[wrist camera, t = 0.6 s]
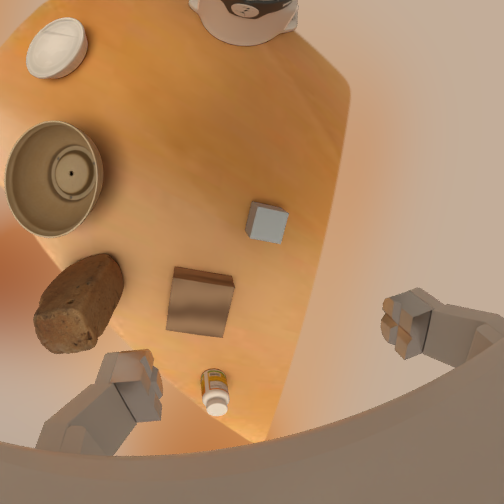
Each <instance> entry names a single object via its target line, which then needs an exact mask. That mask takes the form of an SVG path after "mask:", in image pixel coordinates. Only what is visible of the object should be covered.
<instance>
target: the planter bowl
mask: <svg viewBox="0 0 504 504" xmlns="http://www.w3.org/2000/svg"><path fill="white" fill-rule="evenodd" d="M71 171H73V175H72V176H70V172H71ZM102 184H103V163H102V159H101V155H100V153H99V151H98V148H97V147H96V145H95V144H94V142H93V141H92V140H91V138H90V137H89V136H88V135H86V134H85V133H84V132H83V131H81V130H79V129H78V128H76V127H74V126H73V125H71V124H68V123H65V122H61V121H46V122H42V123H39V124H37V125H35V126H33V127H32V128H30V129H29V130H27V131H26V132H25V133H24V134H23V135H22V136H21V137H20V138H19V139H18V141H17V142H16V144H15V145H14V147H13V149H12V151H11V153H10V155H9V158H8V161H7V164H6V169H5V179H4V185H5V194H6V198H7V202H8V205H9V208H10V210H11V212H12V214H13V216H14V217H15V219H16V220H17V221H18V223H19V224H20V225H21V226H22V227H23V228H24V229H26V230H27V231H29V232H30V233H32V234H34V235H37V236H40V237H44V238H56V237H60V236H63V235H66V234H68V233H70V232H71V231H73V230H74V229H76V228H77V227H78V226H79V225H80V224H81V223H82V222H83V221H84V220H85V218H86V217H87V216H88V214H89V213H90V212H91V210H92V209H93V207H94V206H95V204H96V202H97V200H98V198H99V195H100V193H101V189H102Z"/></svg>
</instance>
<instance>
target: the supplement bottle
mask: <svg viewBox="0 0 504 504" xmlns="http://www.w3.org/2000/svg"><path fill="white" fill-rule="evenodd" d="M201 389H202V401H203V403H204V405H205V406H206V408H207V412H208V413H209V414H210V415H212V416H221V415H223V414H225V413H226V412H227V404H228V403H229V393H228V387H227V381H226V376H225V374H224V373H223V372H222V371H220V370H217V369H210V370H207V371H205V372H204V373H203V374H202V376H201Z"/></svg>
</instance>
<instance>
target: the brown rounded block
mask: <svg viewBox="0 0 504 504" xmlns="http://www.w3.org/2000/svg"><path fill="white" fill-rule="evenodd" d="M123 287H124V285H123V278H122V274H121V270H120V268H119V266H118V264H117V263H116V262H115V261H114V260H113V259H112V258H111V257H110V256H109V255H107V254H98V255H94V256H90V257H87V258H85V259H83V260H81V261H79V262H77V263H75V264H73V265H70V266H69V267H67V268H66V269H65V270H64V271H63V272H61V273H60V274H59V275H58V276H57V277H56V279H54V280H53V281H52V282H51V284H50V285H49V286H48V287H47V289H46V290H45V291H44V293H43V294H42V296H41V299H40V302H39V308H38V309H37V311H36V313H35V314H34V319H33V320H34V326H35V331H36V334H37V337H38V339H39V340H40V341H41V344H42V345H43V346H45V348H46V349H48V350H49V351H50V352H52V353H54V354H63V353H68V354H69V353H77V352H80V351H84V350H85V351H86V350H90V349H92V348H93V347H95V345H96V343H97V340H98V337H99V336H101V335H102V334H103V331H104V330H105V328H106V326H107V325H108V323H109V320H110V318H111V316H112V314H113V311H114V310H115V308H116V306H117V304H118V302H119V300H120V297H121V295H122V291H123Z"/></svg>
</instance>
